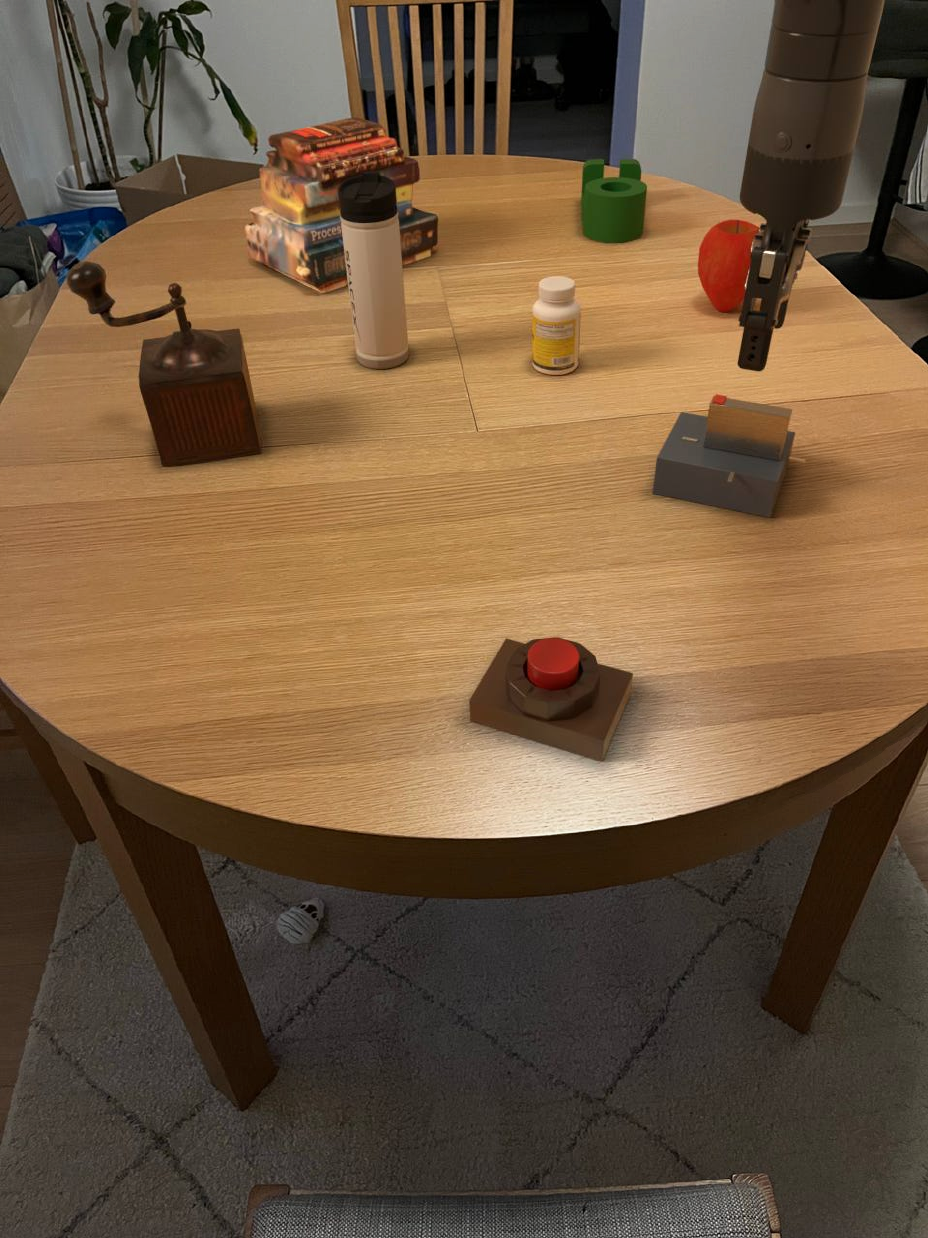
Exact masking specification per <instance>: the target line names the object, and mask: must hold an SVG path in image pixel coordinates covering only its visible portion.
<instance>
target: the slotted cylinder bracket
mask: <svg viewBox="0 0 928 1238" xmlns="http://www.w3.org/2000/svg"><path fill="white" fill-rule="evenodd" d="M581 177H582V178H581V195H580V197H581V198H580V209H581V227H582V234H583V236H584V237H586V238H587V239H589V240H591V241H596V242H600V243H609V244H613V243H614V244H616V243H617V244H618V243H627V242H632V241H634V240H637V239H639V238H641V236H642V235H644V225H645V216H646V202H647V194H648V193H647V191H648V185H647V184H646V183H645V182H643V181H642V167H641V163H640V161H639V160H637V159H636V158H620V159H619V172H618V176H609V177H605V159H604V158H599V159H597V158H596V159H595V158H594V159H593V158H592V159H588V160H586V161H584V163H583V166H582V176H581Z"/></svg>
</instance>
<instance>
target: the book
mask: <svg viewBox="0 0 928 1238" xmlns="http://www.w3.org/2000/svg"><path fill="white" fill-rule="evenodd" d="M267 140H268V145H269V147H271V148H274V150H269V151H267V152H265V156H266V157H267V158H268V160H267V163H266V165H265V166H261V167H260V168H259V171H258V173H259V180H260V187H261V191H260V200H261V205H259V206H255V207H251V208H250V209H249V211H250V214H251V215H252V216H253V219H254V220H253V222H251V223H248V224H246V225H245V226H244V233H245V239H246V251H247V255H248V257H249V258H251V259H252V260H255V261H257V262H260V264H263V265H265V266H267V267H269V268H271V269H273V270H275V271H277V272H279V273H280V274H282V275H284V276H286V277H288V278H290V279H292V280H294V281H296V282H298V283H300V284H302V285H303V286H305V287H307V288H310V289H313V290H314V291H316V292H318V293H321V294H326V293H329V292H332V291H335V290H337V289H341V288H343V287H346V286H348V279H347V270H346V262H345V253H344V244H343V236H342V227H341V219H340V205H339V197H338V187H339V186H340V184H341V183H342V182H344V181H345V180H347V179H350V178H352V177H356V176H361V175H363V172H379V174H380V175H382V176H386V177H388V178H390V179H392V180H393V181H394V182H395V185H396V198H397V203H396V205H397V210H398V219H399V230H400V243H401V256H402V267H403V266H406V265H408V264H412V263H415V262H417V261H419V260H423V259H426V258H429V257H431V256H432V249H433V248H434V247H437V245H438V243H439V236H438V235H439V234H438V232H439V231H438V228H439V216H438V215H437V214H436V213H432V212H427V211H424V210H421V209H419V208H416V207H414V206H413V203H412V202H413V201H412V200H413V196H414V195H413V194H414V187H413V186H414V184H415V183H418V182H419V181H420V180H421V177H420V176H421V175H420V174H421V173H420V171H421V170H420V166H419V162H418V161H417V159H415V158H412V157H409V156H405V151H404V149H403V148H402V147H398V144H397V141H396V139H395V138H393V137H389V135H388V134H387V131H386V128H385V126H383V125H382V124H380V123H377V122H374V121H372V120H368V119H364V118H360V117H354V116H353V117H348V118H343V119H339V120H335V121H330V122H325V123H322V124H321V123H320V124H316V125H313V126H308V127H304V128H303V127H302V128H298V129H294V130H290V131H283V132H280V133H275V134H271V135H270V136H269V137H268V139H267Z"/></svg>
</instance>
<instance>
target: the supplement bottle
mask: <svg viewBox="0 0 928 1238" xmlns="http://www.w3.org/2000/svg"><path fill="white" fill-rule="evenodd" d="M575 296H576V281H575V280H574V279H573V278H570V277H567V276H563V275H553V276H548V277H545V278H543V279H540V281H539V282H538V297H539V299H537V300H536V301H535V302H534V303H533V305H532V313H531V315H532V316H531V317H532V318H531V319H532V321H531V322H532V323H531V325H532V326H531V327H532V329H531V331H532V332H531V333H532V335H531V338H532V339H531V341H532V342H531V343H532V345H531V346H532V347H531V348H532V349H531V351H532V352H531V359H532V362H531V363H532V366H533V368H534V369H535V370H536V371H537V372H539V373H541V374H545V375H552V376H561V375H566V374H568V373H569V374H570V373H571V372H573V371H574V370H576V369H577V367H578V366H579V361H580V340H581V317H582V315H581V314H582V313H581V311H582V307H581V304H580V302H579V301H578V300H577V299H576V298H575Z"/></svg>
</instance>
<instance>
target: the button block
mask: <svg viewBox="0 0 928 1238" xmlns="http://www.w3.org/2000/svg"><path fill="white" fill-rule="evenodd" d="M547 638H548V637H542V638H534V639H531V640H529V641H527V642H526V643H525V642H522V641H517V640H513V639H510V638H505V639H504V641H503V643H502V645H500V648H499V649H498V651H497V652H496V654H495V656H494V658H493V659H492V661H491V662H490V664H489V666H488V668H487V670H486V671H485V672H484V675H483V676H482V678H481V679H480V681H479V682H478V685H477V686H476V688H475V689H474V691H473V693H472V695H471V697H470V699H469V700H468V703H469V705H468V707H469V721H470V722H473V723H476V724H479V725H483V726H485V727H489V728H492V729H495V730H499V731H502V732H505V733H507V734H511V735H514V736H518V737H521V738H524V739H527V740H530V741H535V742H537V743H540V744H544V745H548V746H551V747H554V748H557V749H560V750H563V751H567V752H570V753H573V754H576V755H579V756H583V757H586V758H590V759H592V760H596V761H599V762H603V761H604V758H605V756H606V754H607V752H608V749H609V747H610V744H611V741H612V740H613V737H614V735H615V732H616V730H617V727H618V725H619V722H620V721H621V718H622V715H623V713H624V710H625V708H626V706H627V704H628V702H629V699H630V697H631V694H632V686H633V679H634V673H633V672H630V671H627V670H624V669H620V668H616V667H612V666H608V665H605V664H602V663H598V660H597V657H596V655H595V654H594V653H592V652H591V651H590V650H589V649H587V647H585V646H584V645H583V644H581V643H580V642H577V641H573V640H571V639H566V638H562V637H559V636H551V638H558V639H563V640H566V641H568V642H570V643H571V644H573V645H574V646H575V647H576V649H577V650H578V653H579V671H578V677H577V680H576V681H575V682H574V684H572V685H571V686H570V687H568V688H566V689H562V690H553V691H550V690H546V689H543V688H539V687H537V686H536V685H534V684H533V683H532V682H531V680H530V679H529V677H528V674H527V662H528V651H529V649H530V648H531V646H532V645H533V644H535V643H536V642H538V641H540V640H543V639H547Z"/></svg>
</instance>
